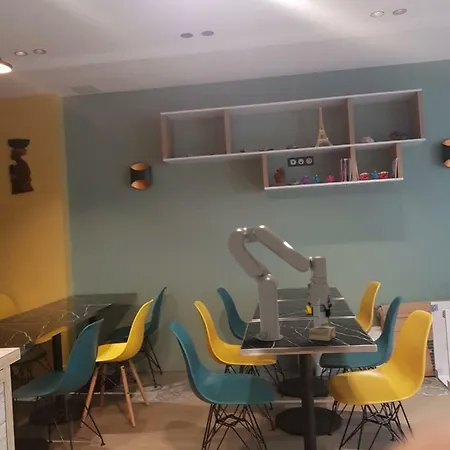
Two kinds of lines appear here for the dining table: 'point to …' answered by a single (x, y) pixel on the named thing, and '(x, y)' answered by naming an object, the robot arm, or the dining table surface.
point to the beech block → (322, 333)
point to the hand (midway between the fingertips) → (321, 315)
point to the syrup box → (320, 315)
